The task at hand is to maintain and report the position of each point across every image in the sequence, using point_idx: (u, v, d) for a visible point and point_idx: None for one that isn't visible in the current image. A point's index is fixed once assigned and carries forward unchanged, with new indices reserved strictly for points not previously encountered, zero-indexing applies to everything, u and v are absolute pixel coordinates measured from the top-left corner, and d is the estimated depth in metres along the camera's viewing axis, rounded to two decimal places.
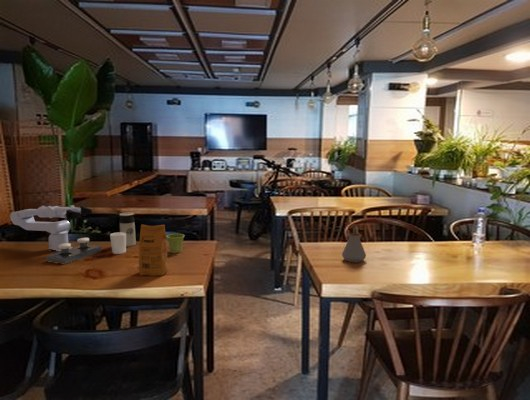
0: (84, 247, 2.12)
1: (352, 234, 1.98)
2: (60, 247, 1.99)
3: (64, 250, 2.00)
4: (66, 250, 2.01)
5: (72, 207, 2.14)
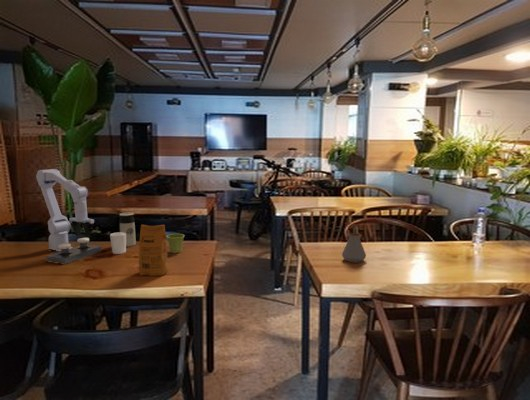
0: (84, 247, 2.12)
1: (352, 234, 1.98)
2: (60, 247, 1.99)
3: (64, 250, 2.00)
4: (66, 250, 2.01)
5: (76, 221, 2.08)
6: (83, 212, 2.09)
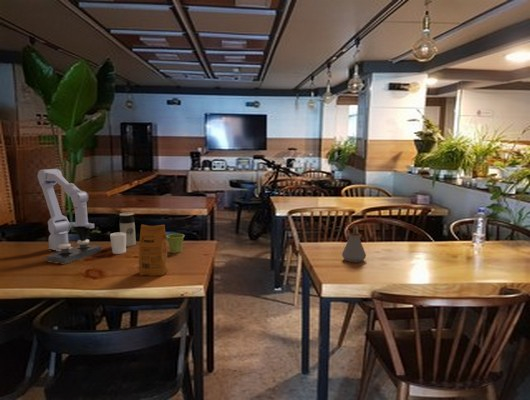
0: None
1: (352, 234, 1.98)
2: (60, 247, 1.99)
3: (64, 250, 2.00)
4: (66, 250, 2.01)
5: (77, 225, 2.09)
6: (83, 217, 2.09)
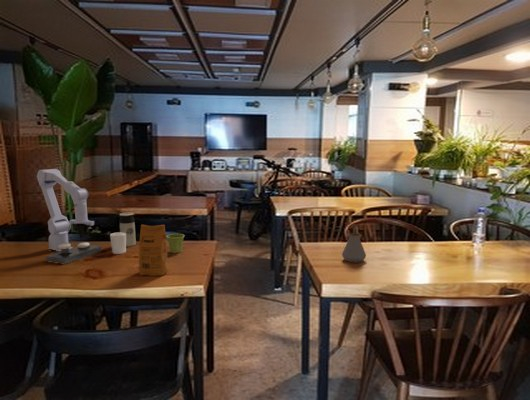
0: None
1: (352, 234, 1.98)
2: (60, 247, 1.99)
3: (64, 250, 2.00)
4: (66, 250, 2.01)
5: (77, 223, 2.09)
6: (83, 214, 2.09)
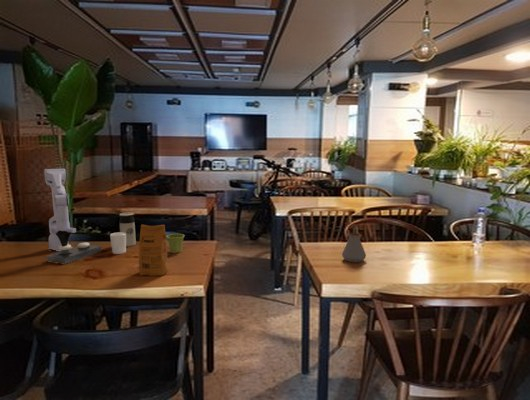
0: None
1: (352, 234, 1.98)
2: (60, 248, 1.99)
3: (64, 251, 2.00)
4: (66, 251, 2.01)
5: None
6: (64, 221, 1.98)
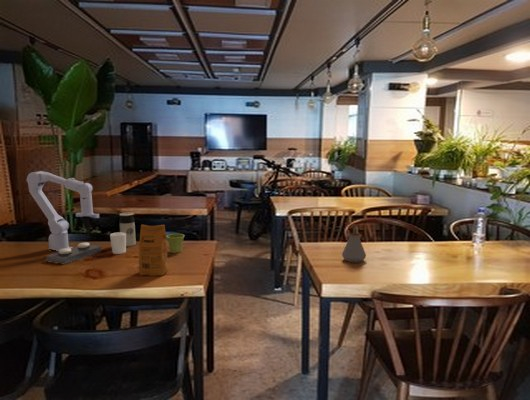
0: None
1: (352, 234, 1.98)
2: (60, 252, 1.99)
3: (64, 255, 2.01)
4: None
5: (82, 215, 2.17)
6: (89, 207, 2.17)
